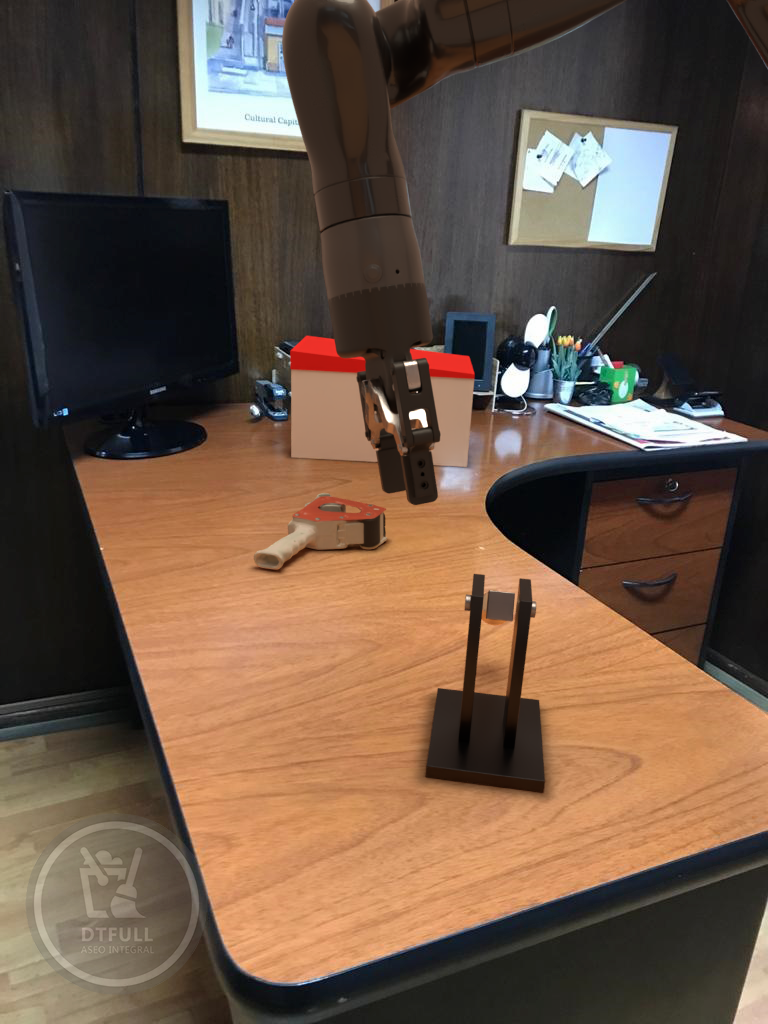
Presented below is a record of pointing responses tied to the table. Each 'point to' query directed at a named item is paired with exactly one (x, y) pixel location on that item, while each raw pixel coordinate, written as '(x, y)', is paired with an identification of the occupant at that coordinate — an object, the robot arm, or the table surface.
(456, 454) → the red-topped tan box
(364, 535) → the tape dispenser
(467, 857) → the table surface
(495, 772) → the bracket
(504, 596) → the lever
